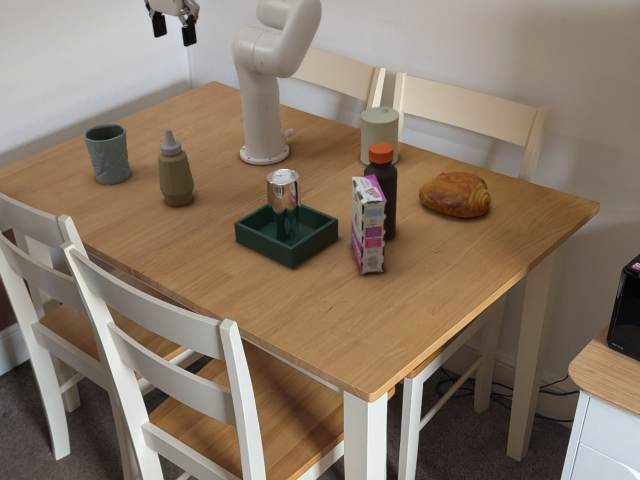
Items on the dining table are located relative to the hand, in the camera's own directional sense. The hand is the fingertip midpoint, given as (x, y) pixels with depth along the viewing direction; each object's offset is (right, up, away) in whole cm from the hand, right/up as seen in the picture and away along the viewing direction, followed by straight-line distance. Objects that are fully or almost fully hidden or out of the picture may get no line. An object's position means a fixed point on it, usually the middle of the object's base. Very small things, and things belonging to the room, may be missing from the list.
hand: (175, 40), depth 168 cm
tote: (+24, -42, +3) cm, 48 cm away
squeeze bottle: (-1, -31, +21) cm, 37 cm away
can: (+47, -19, +29) cm, 59 cm away
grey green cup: (-19, -23, +33) cm, 44 cm away
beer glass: (+24, -42, +3) cm, 48 cm away
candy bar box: (+40, -47, -4) cm, 61 cm away
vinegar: (+43, -41, +3) cm, 59 cm away
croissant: (+62, -33, +10) cm, 71 cm away
